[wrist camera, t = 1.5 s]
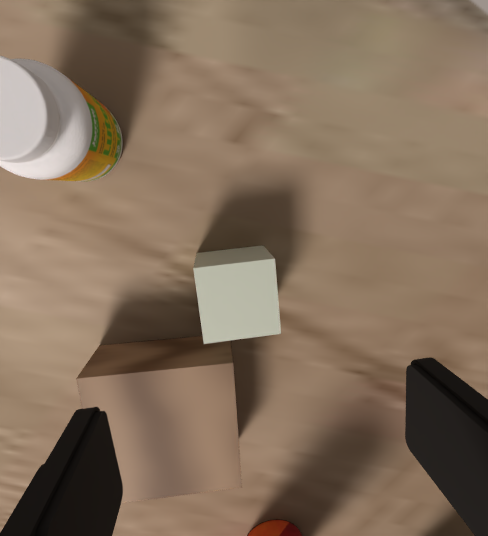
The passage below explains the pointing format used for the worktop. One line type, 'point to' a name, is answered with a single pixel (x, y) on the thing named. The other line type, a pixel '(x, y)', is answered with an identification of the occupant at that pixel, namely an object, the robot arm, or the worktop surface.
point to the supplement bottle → (53, 125)
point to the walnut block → (167, 414)
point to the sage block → (237, 294)
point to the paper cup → (275, 529)
